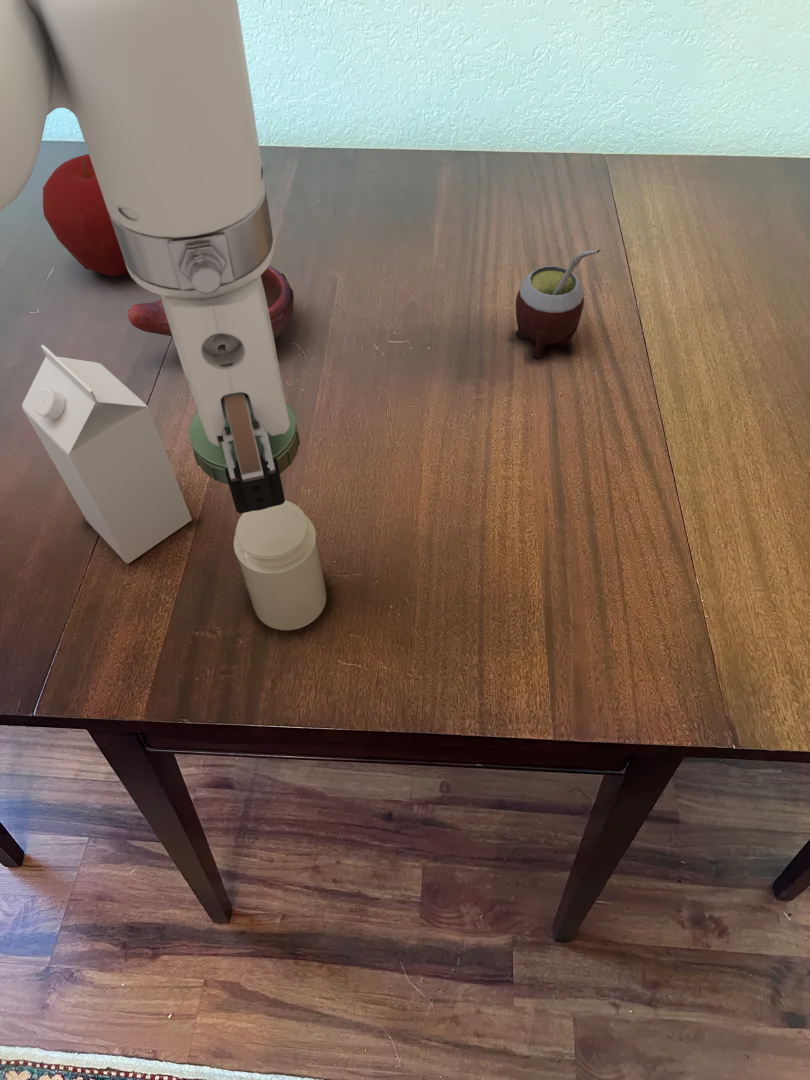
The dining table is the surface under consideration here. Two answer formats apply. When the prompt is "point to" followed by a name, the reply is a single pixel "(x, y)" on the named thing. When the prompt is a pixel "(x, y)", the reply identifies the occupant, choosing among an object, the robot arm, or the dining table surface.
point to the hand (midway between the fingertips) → (251, 462)
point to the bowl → (277, 298)
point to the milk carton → (106, 453)
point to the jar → (281, 565)
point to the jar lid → (214, 457)
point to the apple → (82, 217)
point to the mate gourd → (550, 306)
